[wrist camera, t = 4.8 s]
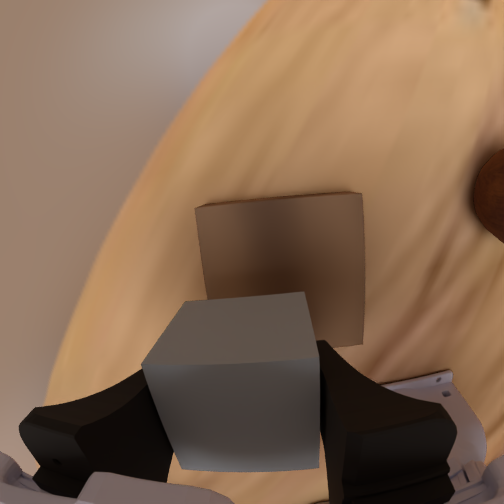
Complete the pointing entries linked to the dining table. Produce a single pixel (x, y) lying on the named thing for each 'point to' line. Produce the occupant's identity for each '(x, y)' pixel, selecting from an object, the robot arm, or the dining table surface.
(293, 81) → the dining table surface
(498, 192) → the wooden figurine
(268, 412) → the slate cube
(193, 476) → the dining table surface
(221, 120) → the dining table surface
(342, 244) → the walnut block
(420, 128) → the dining table surface
